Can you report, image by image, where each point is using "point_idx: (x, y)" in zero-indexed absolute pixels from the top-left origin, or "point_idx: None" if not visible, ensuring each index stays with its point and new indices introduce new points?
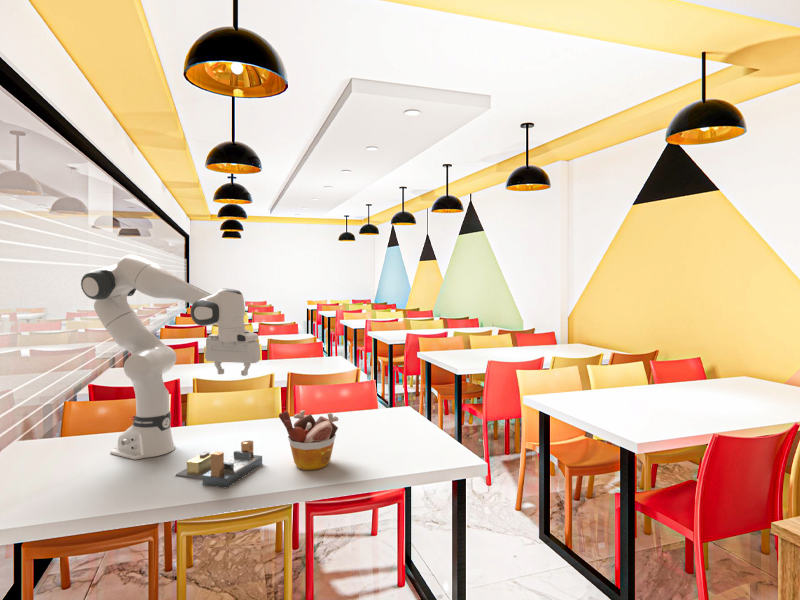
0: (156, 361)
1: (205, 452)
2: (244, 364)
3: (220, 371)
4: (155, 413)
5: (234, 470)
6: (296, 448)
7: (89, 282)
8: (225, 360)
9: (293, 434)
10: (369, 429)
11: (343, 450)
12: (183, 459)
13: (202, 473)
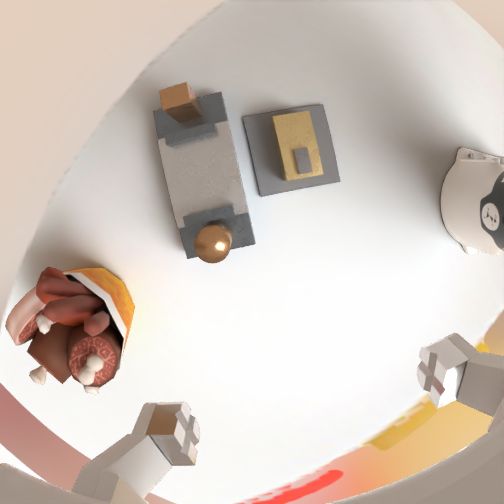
0: None
1: (307, 167)
2: (104, 486)
3: (443, 355)
4: None
5: (162, 142)
6: (74, 272)
7: None
8: (431, 486)
9: (45, 269)
10: None
11: (117, 378)
12: (389, 189)
13: (269, 133)
